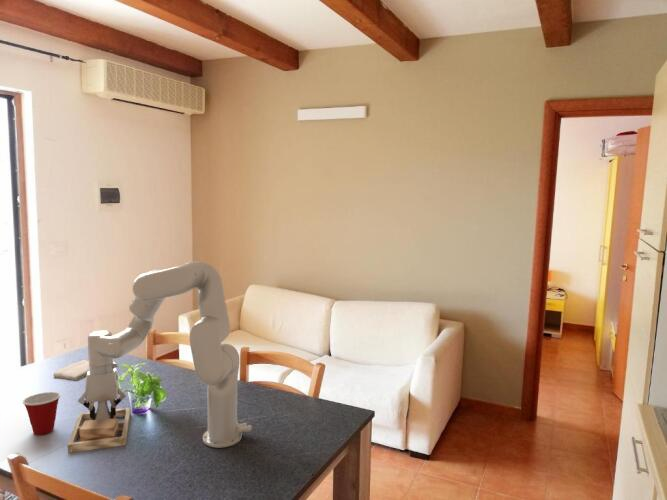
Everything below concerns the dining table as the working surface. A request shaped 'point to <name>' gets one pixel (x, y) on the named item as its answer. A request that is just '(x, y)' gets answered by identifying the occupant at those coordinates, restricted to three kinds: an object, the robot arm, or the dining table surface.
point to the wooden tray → (99, 443)
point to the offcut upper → (99, 428)
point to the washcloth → (73, 371)
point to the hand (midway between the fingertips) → (103, 418)
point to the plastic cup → (42, 411)
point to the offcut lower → (99, 437)
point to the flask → (102, 411)
